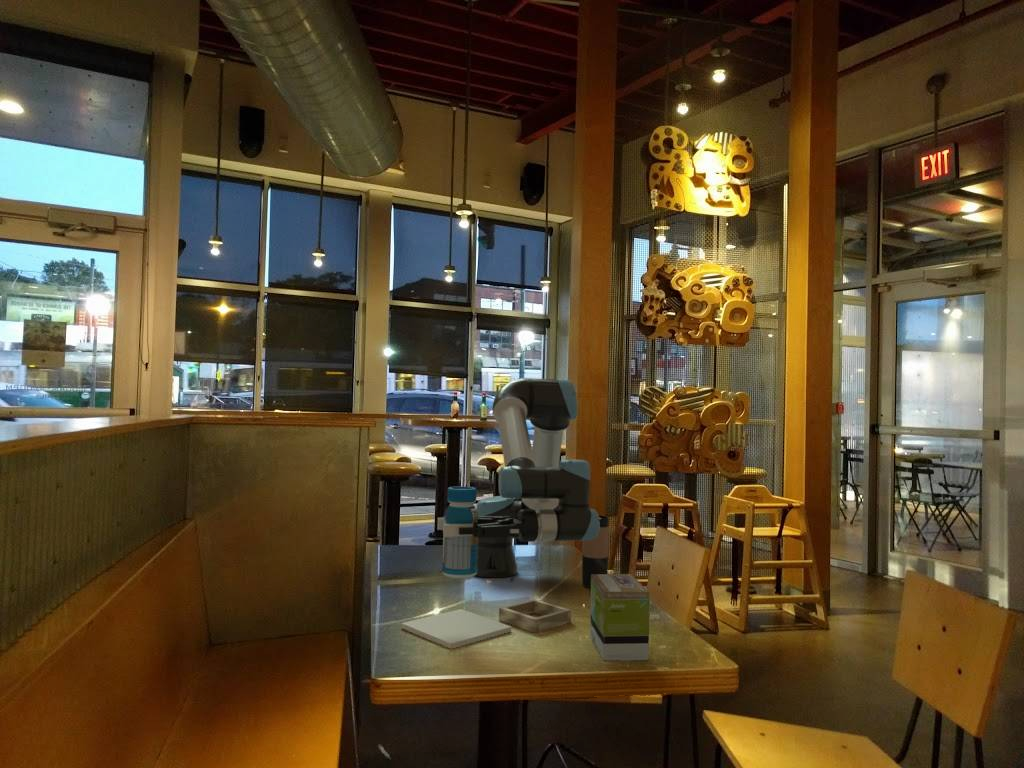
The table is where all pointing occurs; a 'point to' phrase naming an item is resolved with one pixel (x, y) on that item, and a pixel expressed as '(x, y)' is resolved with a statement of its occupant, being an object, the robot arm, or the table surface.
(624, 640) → the tea box
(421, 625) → the serving board
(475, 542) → the beverage bottle
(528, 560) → the table surface
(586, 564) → the travel mug
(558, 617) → the collar
